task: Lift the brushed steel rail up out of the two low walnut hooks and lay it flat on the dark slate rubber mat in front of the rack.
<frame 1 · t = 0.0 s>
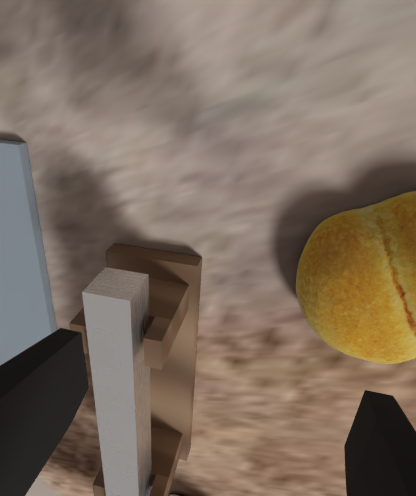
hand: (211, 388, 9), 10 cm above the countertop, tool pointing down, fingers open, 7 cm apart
bread roll: (394, 264, 18), on the countertop
steel rail: (133, 411, 20), point 4 cm above the countertop, touching hook rack
hook rack: (157, 359, 24), on the countertop
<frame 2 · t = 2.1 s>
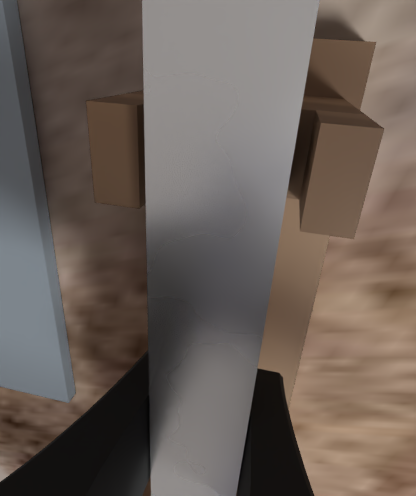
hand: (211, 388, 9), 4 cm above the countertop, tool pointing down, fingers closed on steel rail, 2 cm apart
steel rail: (213, 382, 10), point 4 cm above the countertop, touching gripper, hook rack
hook rack: (235, 296, 13), on the countertop
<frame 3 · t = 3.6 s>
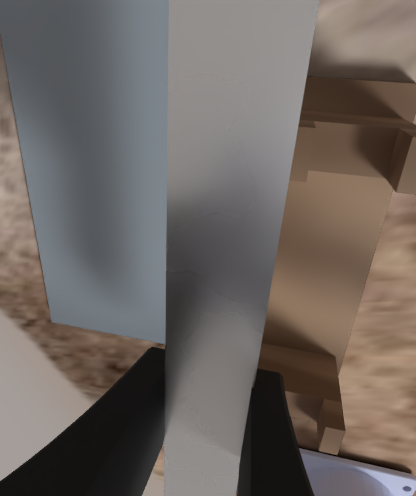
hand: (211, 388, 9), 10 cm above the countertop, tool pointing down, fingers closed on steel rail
slate mat: (101, 172, 19), on the countertop
steel rail: (220, 357, 10), point 9 cm above the countertop, touching gripper
hook rack: (312, 255, 18), on the countertop
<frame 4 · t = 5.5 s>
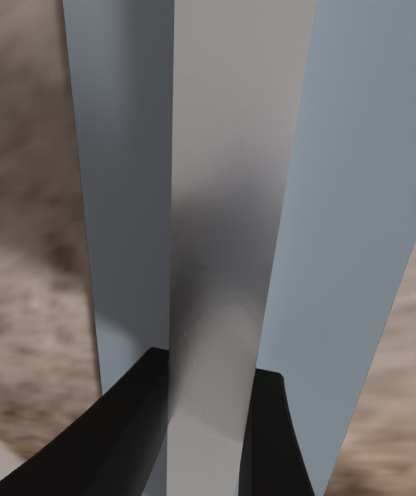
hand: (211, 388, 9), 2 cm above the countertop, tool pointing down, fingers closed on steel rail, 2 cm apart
slate mat: (226, 335, 11), on the countertop
steel rail: (221, 350, 11), point 1 cm above the countertop, touching gripper, slate mat
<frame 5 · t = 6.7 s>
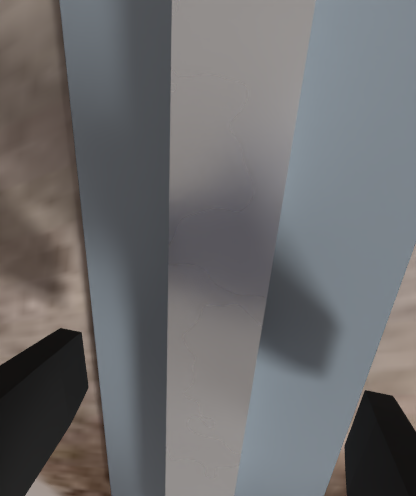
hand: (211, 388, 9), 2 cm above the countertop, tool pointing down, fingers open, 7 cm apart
slate mat: (225, 336, 11), on the countertop
steel rail: (221, 351, 11), point 1 cm above the countertop, touching slate mat
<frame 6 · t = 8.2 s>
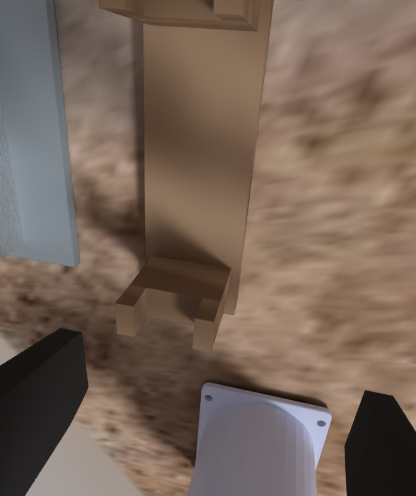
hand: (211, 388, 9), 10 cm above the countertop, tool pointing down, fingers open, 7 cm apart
hook rack: (201, 157, 17), on the countertop
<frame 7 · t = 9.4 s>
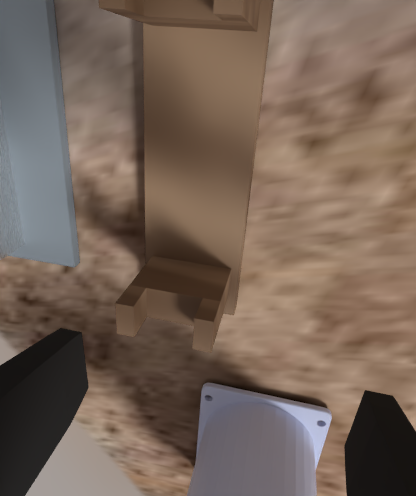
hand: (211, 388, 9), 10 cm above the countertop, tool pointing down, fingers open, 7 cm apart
hook rack: (201, 157, 17), on the countertop
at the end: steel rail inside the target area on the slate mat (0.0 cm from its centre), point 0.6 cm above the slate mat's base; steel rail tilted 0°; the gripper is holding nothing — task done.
